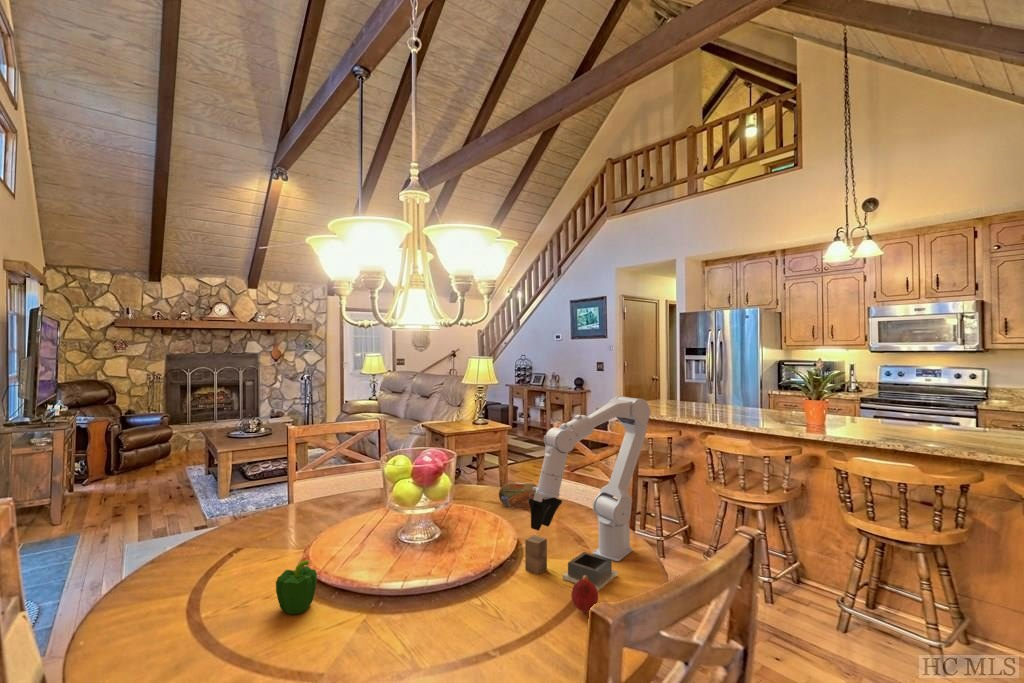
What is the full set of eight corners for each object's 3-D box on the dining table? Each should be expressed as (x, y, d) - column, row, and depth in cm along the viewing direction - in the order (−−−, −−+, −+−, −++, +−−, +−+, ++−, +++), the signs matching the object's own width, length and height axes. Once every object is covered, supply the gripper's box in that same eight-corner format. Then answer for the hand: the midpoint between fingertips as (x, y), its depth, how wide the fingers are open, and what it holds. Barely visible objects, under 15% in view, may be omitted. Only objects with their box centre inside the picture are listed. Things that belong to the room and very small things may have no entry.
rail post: (534, 564, 131) (534, 534, 131) (546, 569, 129) (546, 538, 129) (525, 570, 128) (525, 539, 128) (538, 575, 126) (538, 543, 126)
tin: (498, 506, 178) (498, 483, 178) (500, 503, 181) (500, 480, 181) (540, 508, 175) (540, 485, 175) (541, 506, 178) (541, 482, 178)
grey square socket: (582, 564, 132) (582, 549, 132) (617, 575, 125) (617, 559, 125) (562, 578, 124) (562, 562, 124) (598, 591, 118) (598, 574, 118)
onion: (597, 621, 105) (597, 583, 105) (570, 618, 106) (570, 581, 106) (598, 607, 111) (598, 571, 111) (572, 604, 112) (572, 568, 112)
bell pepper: (276, 623, 104) (276, 575, 104) (275, 604, 111) (275, 560, 111) (319, 613, 108) (319, 567, 108) (315, 595, 115) (315, 553, 115)
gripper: (546, 469, 137) (535, 519, 135) (527, 470, 124) (515, 525, 122) (570, 476, 134) (559, 527, 132) (554, 478, 121) (541, 535, 119)
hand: (540, 527), depth 127 cm, fingers open, 7 cm apart
